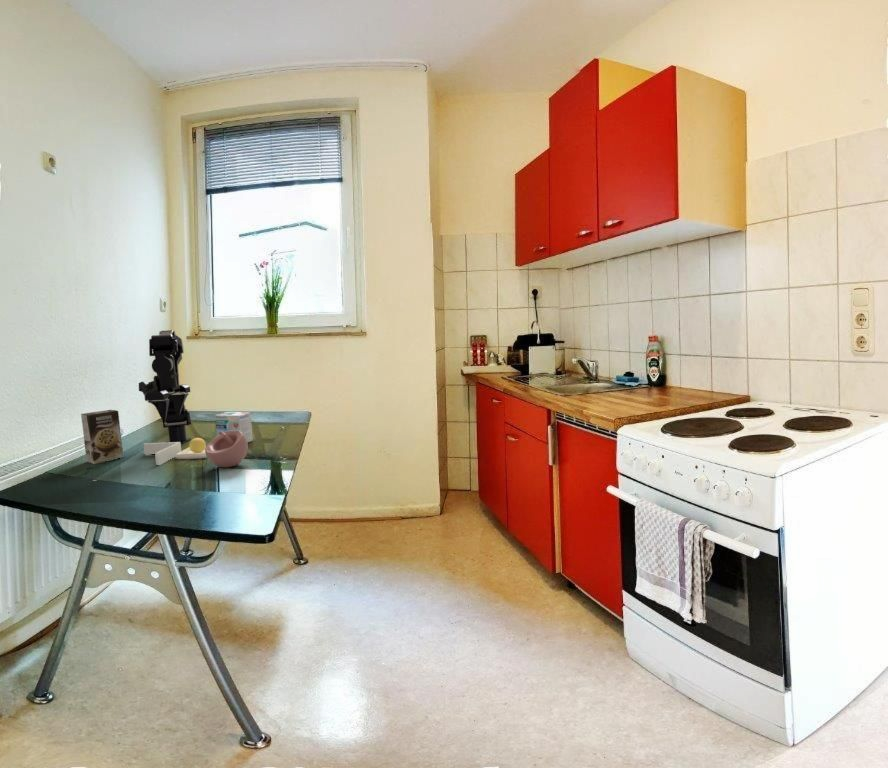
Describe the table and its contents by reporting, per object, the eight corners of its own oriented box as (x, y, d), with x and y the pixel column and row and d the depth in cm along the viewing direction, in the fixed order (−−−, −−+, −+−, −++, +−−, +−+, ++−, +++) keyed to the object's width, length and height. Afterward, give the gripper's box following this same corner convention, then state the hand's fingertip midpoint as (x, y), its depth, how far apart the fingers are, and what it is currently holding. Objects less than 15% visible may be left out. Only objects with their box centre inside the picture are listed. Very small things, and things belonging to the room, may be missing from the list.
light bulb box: (216, 444, 188) (213, 414, 187) (229, 439, 195) (226, 411, 193) (241, 445, 185) (238, 415, 184) (253, 440, 192) (251, 411, 190)
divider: (146, 454, 177) (144, 443, 176) (182, 453, 177) (181, 441, 176) (119, 467, 163) (117, 454, 162) (158, 465, 162) (157, 453, 162)
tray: (190, 451, 179) (190, 446, 179) (219, 450, 179) (219, 445, 179) (175, 459, 169) (175, 454, 169) (206, 458, 169) (205, 453, 169)
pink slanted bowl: (198, 470, 156) (194, 432, 154) (231, 459, 166) (227, 424, 165) (225, 474, 150) (222, 435, 148) (258, 463, 160) (254, 426, 159)
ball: (194, 451, 177) (193, 436, 176) (208, 450, 177) (207, 436, 176) (186, 454, 172) (185, 439, 171) (201, 454, 172) (200, 439, 171)
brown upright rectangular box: (93, 464, 167) (87, 415, 165) (86, 461, 171) (79, 413, 169) (124, 457, 174) (118, 410, 172) (116, 455, 178) (110, 408, 176)
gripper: (157, 370, 186) (162, 412, 188) (125, 376, 167) (131, 423, 170) (188, 368, 186) (193, 411, 188) (159, 374, 167) (165, 422, 169)
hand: (171, 417), depth 179 cm, fingers open, 9 cm apart
